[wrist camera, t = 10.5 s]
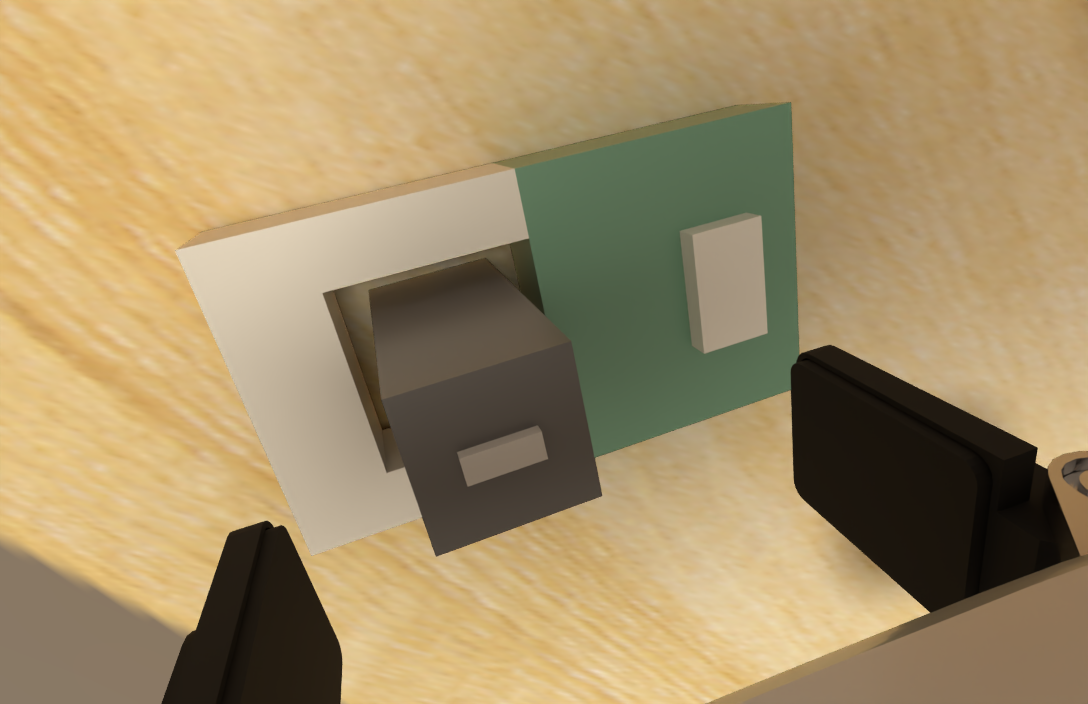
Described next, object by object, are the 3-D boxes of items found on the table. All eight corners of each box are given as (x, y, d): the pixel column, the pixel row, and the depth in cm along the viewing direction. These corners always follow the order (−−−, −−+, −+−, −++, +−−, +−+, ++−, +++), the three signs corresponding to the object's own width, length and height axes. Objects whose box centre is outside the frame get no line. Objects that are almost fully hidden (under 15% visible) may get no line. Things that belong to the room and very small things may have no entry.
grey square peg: (485, 258, 21) (575, 345, 12) (510, 362, 22) (607, 502, 14) (368, 290, 20) (382, 405, 12) (403, 395, 22) (437, 565, 13)
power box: (735, 105, 22) (808, 101, 18) (752, 359, 25) (815, 394, 22) (201, 231, 18) (166, 256, 15) (316, 503, 22) (309, 572, 19)
